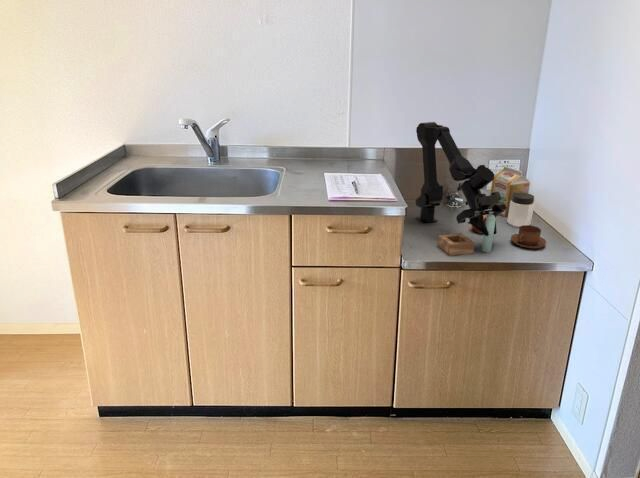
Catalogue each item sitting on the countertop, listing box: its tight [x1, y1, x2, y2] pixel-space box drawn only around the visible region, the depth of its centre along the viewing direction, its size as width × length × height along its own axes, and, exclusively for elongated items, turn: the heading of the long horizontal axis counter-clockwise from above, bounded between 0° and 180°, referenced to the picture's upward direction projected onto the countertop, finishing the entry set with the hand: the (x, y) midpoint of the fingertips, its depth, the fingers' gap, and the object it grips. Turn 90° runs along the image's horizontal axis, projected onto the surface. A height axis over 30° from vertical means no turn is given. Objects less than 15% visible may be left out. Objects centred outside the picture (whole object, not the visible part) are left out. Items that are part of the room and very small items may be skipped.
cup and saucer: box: [510, 225, 547, 249], centre depth 180 cm, size 12×12×6 cm
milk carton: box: [488, 165, 531, 218], centre depth 210 cm, size 11×11×19 cm
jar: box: [506, 192, 535, 228], centre depth 198 cm, size 9×8×12 cm
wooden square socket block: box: [437, 232, 476, 257], centre depth 175 cm, size 9×9×4 cm
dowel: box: [481, 214, 497, 254], centre depth 173 cm, size 3×3×14 cm
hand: (491, 234), depth 171 cm, fingers closed on dowel, 3 cm apart
